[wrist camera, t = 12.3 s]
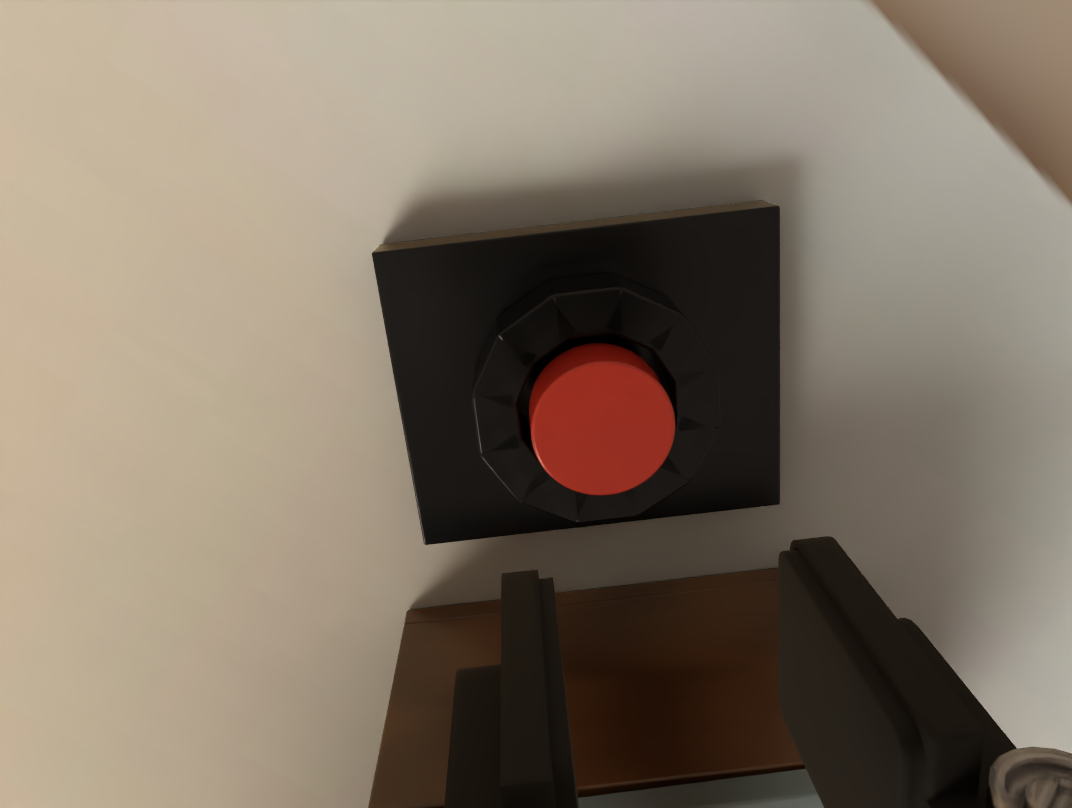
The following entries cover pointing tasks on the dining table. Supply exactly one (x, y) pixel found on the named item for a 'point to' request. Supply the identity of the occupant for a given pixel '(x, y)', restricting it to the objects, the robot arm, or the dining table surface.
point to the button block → (576, 319)
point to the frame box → (610, 686)
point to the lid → (720, 794)
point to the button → (600, 419)
